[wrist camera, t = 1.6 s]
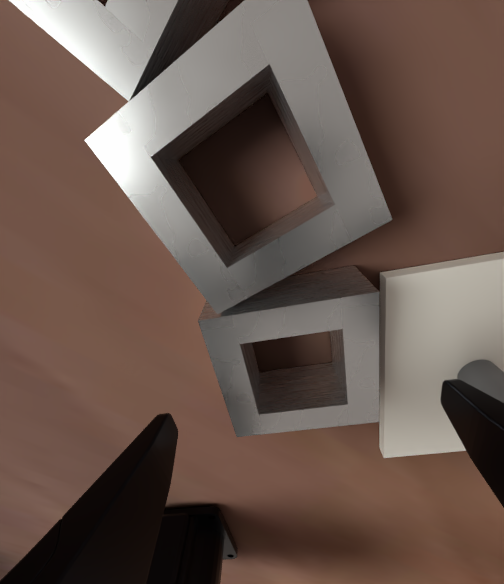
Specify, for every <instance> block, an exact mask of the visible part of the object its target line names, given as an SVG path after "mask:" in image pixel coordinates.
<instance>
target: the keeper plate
mask: <svg viewBox="0 0 504 584" xmlns="http://www.w3.org/2000/svg"><path fill="white" fill-rule="evenodd" d="M449 379H460V380H462V381H464V382H466V383H468V384H470V385H472V386H473V387H475V388H477V389H479V390H481V391H483V392H485V393H487V394H488V395H490V396H492V397H494V398H496V399H498V400H500V401H502V402H503V403H504V252H499V253H493V254H487V255H481V256H476V257H470V258H464V259H458V260H452V261H446V262H440V263H434V264H428V265H422V266H416V267H410V268H404V269H398V270H392V271H386V272H380V424H379V448H380V450H381V453H382V455H383V457H384V458H390V457H401V456H412V455H423V454H434V453H445V452H457V451H466V449H465V447H464V446H463V444H462V442H461V440H460V438H459V436H458V435H457V433H456V431H455V429H454V427H453V425H452V424H451V422H450V420H449V418H448V416H447V414H446V413H445V411H444V409H443V407H442V405H441V401H440V397H441V390H442V383H443V381H444V380H449Z"/></svg>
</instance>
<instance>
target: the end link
mask: <svg viewBox="0 0 504 584" xmlns="http://www.w3.org/2000/svg"><path fill="white" fill-rule="evenodd" d="M198 322H199V325H200V328H201V331H202V334H203V337H204V340H205V343H206V346H207V349H208V352H209V355H210V358H211V361H212V364H213V367H214V370H215V373H216V376H217V379H218V382H219V385H220V388H221V391H222V394H223V397H224V400H225V403H226V406H227V409H228V412H229V415H230V418H231V421H232V424H233V427H234V430H235V433H236V436H237V437H241V436H250V435H260V434H269V433H279V432H288V431H298V430H307V429H317V428H326V427H335V426H345V425H354V424H364V423H373V422H379V291H378V290H377V289H376V288H375V287H374V286H373V285H372V284H371V283H370V282H369V280H368V279H367V278H366V277H365V276H364V275H363V274H362V273H361V272H360V271H359V270H358V269H357V268H356V267H355V266H354V265H353V266H348V267H342V268H336V269H330V270H325V271H319V272H313V273H307V274H301V275H296V276H290V277H286V278H284V279H282V280H280V281H278V282H276V283H274V284H273V285H271V286H269V287H267V288H265V289H263V290H261V291H260V292H258V293H256V294H254V295H252V296H250V297H249V298H247V299H245V300H243V301H241V302H239V303H237V304H236V305H234V306H232V307H230V308H228V309H226V310H224V311H223V312H221V313H219V314H217V313H216V312H215V310H214V309H213V308H212V306H211V305H210V304H209V303H208V301H207V300H206V303H205V305H204V307H203V310H202V312H201V315H200V317H199V319H198ZM325 331H330V341H331V352H332V362H331V363H324V364H316V365H309V366H301V367H294V368H286V369H279V370H271V371H264V372H259V369H258V365H257V361H256V357H255V353H254V349H253V345H252V342H257V341H264V340H271V339H278V338H285V337H291V336H298V335H305V334H312V333H319V332H325Z"/></svg>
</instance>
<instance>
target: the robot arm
mask: <svg viewBox="0 0 504 584" xmlns="http://www.w3.org/2000/svg"><path fill="white" fill-rule="evenodd" d="M440 401H441V405H442V407H443V409H444V411H445V413H446V414H447V416H448V418H449V420H450V422H451V424H452V425H453V427H454V429H455V431H456V433H457V435H458V436H459V438H460V440H461V442H462V444H463V446H464V447H465V449H466V451H467V453H468V454H469V456H470V458H471V459H472V461H473V463H474V464H475V466H476V467H477V469H478V470H479V472H480V473H481V475H482V476H483V478H484V479H485V481H486V482H487V484H488V485H489V486H490V488H491V489H492V491H493V492H494V494H495V495H496V497H497V498H498V500H499V501H500V503H501V504H502V506H503V507H504V403H503V402H502V401H500V400H498V399H496V398H494V397H492V396H490V395H488V394H487V393H485V392H483V391H481V390H479V389H477V388H475V387H473V386H472V385H470V384H468V383H466V382H464V381H462V380H460V379H449V380H444V381H443V383H442V390H441V397H440ZM177 439H178V429H177V426H176V424H175V422H174V420H173V418H172V416H171V414H169V413H165V414H159V415H157V416H156V417H155V418H154V419H153V420H152V421H151V422H150V423H149V425H148V426H147V427H146V428H145V429H144V430H143V431H142V432H141V433H140V434H139V435H138V436H137V437H136V438H135V440H134V441H133V442H132V443H131V444H130V445H129V446H128V447H127V448H126V449H125V450H124V451H123V452H122V453H121V455H120V456H119V457H118V458H117V459H116V460H115V461H114V462H113V463H112V464H111V465H110V466H109V467H108V468H107V470H106V471H105V472H104V473H103V474H102V475H101V476H100V477H99V478H98V479H97V480H96V481H95V482H94V483H93V485H92V486H91V487H90V488H89V489H88V490H87V491H86V492H85V493H84V494H83V495H82V496H81V497H80V498H79V500H78V501H77V502H76V503H75V504H74V505H73V506H72V507H71V508H70V509H69V510H68V511H67V512H66V513H65V515H64V516H63V517H62V519H60V520H59V521H58V522H57V523H56V524H55V525H54V526H53V527H52V528H51V529H50V531H49V532H48V533H47V534H46V535H45V536H44V537H43V538H42V539H41V540H40V541H39V542H38V543H37V544H36V545H35V546H34V547H33V548H32V549H31V550H30V551H29V552H28V554H27V555H26V556H25V557H24V558H23V559H22V560H21V561H20V562H19V563H18V564H17V565H16V566H15V567H14V568H12V569H11V570H10V571H9V572H8V573H7V574H6V575H5V576H4V577H3V578H2V579H1V580H0V584H220V580H221V570H222V560H223V559H235V558H236V557H237V547H236V545H235V542H234V540H233V538H232V536H231V534H230V531H229V529H228V527H227V525H226V523H225V520H224V518H223V516H222V514H221V511H220V510H219V508H217V507H198V508H184V509H171V510H164V509H165V505H166V501H167V497H168V493H169V488H170V484H171V478H172V472H173V465H174V459H175V452H176V446H177Z"/></svg>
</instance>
